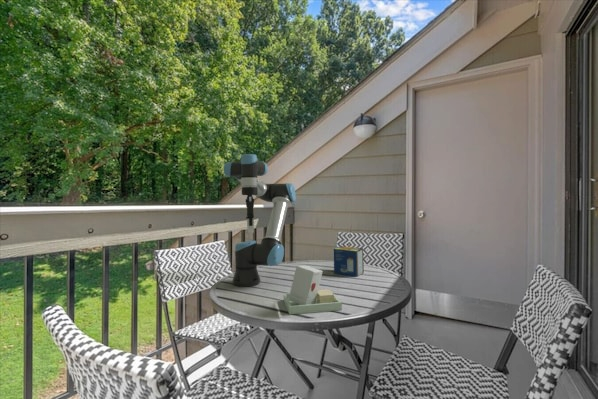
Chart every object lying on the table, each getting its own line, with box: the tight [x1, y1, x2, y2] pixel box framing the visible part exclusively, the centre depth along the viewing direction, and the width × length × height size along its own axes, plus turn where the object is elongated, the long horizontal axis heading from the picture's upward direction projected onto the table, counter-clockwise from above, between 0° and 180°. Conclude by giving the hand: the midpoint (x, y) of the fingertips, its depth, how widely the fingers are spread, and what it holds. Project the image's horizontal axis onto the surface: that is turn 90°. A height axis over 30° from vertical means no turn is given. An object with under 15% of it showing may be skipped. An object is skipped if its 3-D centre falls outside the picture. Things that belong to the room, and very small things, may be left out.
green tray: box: [283, 292, 343, 315], centre depth 135 cm, size 17×22×4 cm
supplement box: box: [288, 265, 323, 305], centre depth 135 cm, size 9×9×15 cm
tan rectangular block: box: [316, 288, 335, 304], centre depth 137 cm, size 8×6×5 cm
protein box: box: [333, 245, 365, 278], centre depth 191 cm, size 10×15×16 cm
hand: (250, 231), depth 150 cm, fingers open, 13 cm apart
